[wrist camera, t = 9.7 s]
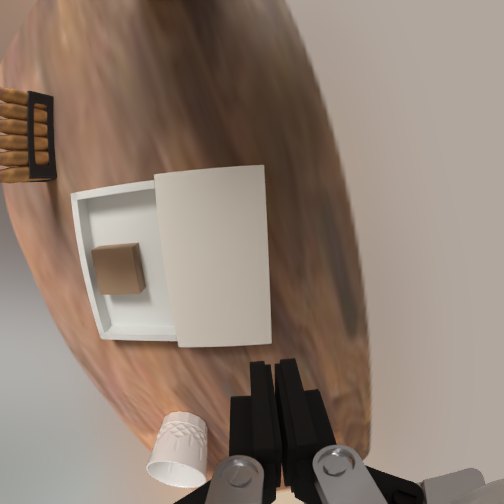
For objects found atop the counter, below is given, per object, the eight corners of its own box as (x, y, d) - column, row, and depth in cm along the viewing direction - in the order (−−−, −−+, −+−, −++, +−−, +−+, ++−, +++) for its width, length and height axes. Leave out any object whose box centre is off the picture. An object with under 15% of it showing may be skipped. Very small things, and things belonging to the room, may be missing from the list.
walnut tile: (131, 247, 26) (138, 242, 28) (90, 250, 26) (99, 245, 28) (140, 294, 28) (145, 286, 30) (100, 294, 28) (107, 288, 30)
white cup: (179, 400, 35) (166, 454, 25) (222, 426, 36) (218, 479, 27) (151, 421, 36) (136, 469, 26) (191, 444, 38) (183, 492, 28)
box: (82, 191, 27) (70, 193, 25) (161, 179, 27) (154, 180, 25) (108, 328, 32) (100, 338, 29) (181, 329, 32) (177, 341, 29)
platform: (162, 174, 27) (154, 174, 24) (261, 166, 27) (264, 164, 24) (183, 333, 32) (178, 347, 29) (269, 329, 32) (271, 343, 29)
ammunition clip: (57, 178, 27) (-15, 186, 15) (46, 181, 27) (-24, 191, 15) (53, 96, 24) (-12, 76, 12) (42, 101, 24) (-22, 85, 12)
